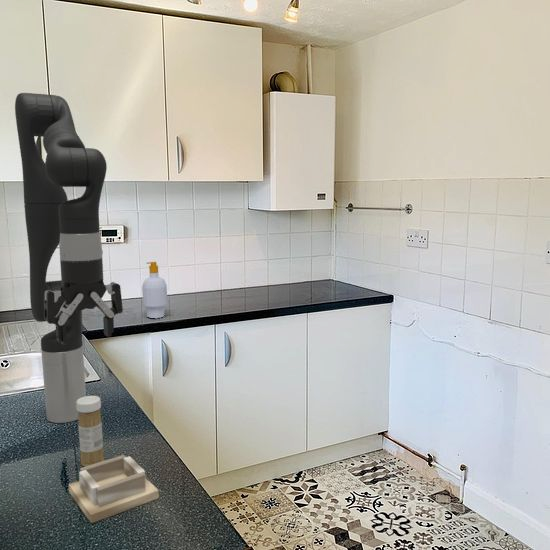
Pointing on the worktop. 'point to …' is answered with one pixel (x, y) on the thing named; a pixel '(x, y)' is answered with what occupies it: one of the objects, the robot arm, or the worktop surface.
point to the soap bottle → (154, 293)
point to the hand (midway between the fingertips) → (86, 339)
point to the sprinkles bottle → (90, 430)
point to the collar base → (112, 488)
